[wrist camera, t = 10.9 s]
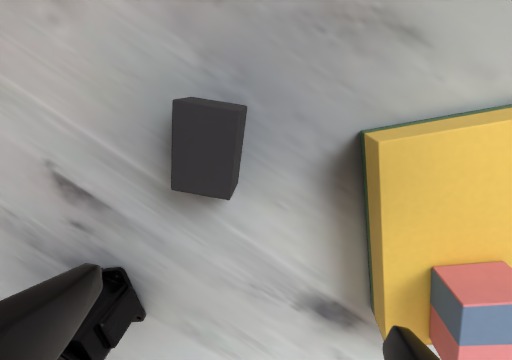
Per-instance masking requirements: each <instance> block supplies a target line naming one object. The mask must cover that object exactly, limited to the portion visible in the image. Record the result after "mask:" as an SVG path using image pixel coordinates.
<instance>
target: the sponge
mask: <svg viewBox="0 0 512 360" xmlns="http://www.w3.org/2000/svg"><path fill="white" fill-rule="evenodd" d="M361 146H362V162H363V178H364V194H365V210H366V226H367V242H368V258H369V274H370V290H371V306H372V311H373V314H374V316H375V319H376V321H377V324H378V327H379V329H380V332H381V334H382V337H383V340H384V341H385V339H386V337H387V335H388V333H389V331H390V329H391V327H392V326H394V325H397V326H402V327H406V328H409V329H410V330H411V331H412V332H413V333H414V334H415V335H416V336H417V337H418V338H419V339H420V340H421V341H422V342H423V343H424V344H425V345H433V344H432V342H431V340H430V315H431V303H430V293H431V269H432V268H433V267H438V266H450V265H462V264H474V263H486V262H498V261H504V262H505V263H507V264H508V265H509V266H510V267H511V268H512V104H510V105H504V106H499V107H493V108H488V109H482V110H476V111H471V112H465V113H459V114H454V115H448V116H442V117H437V118H431V119H426V120H420V121H414V122H409V123H403V124H397V125H392V126H386V127H380V128H375V129H369V130H364V131H361Z"/></svg>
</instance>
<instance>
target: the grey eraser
mask: <svg viewBox="0 0 512 360" xmlns="http://www.w3.org/2000/svg"><path fill="white" fill-rule="evenodd" d="M246 113H247V106H244V105H238V104H232V103H226V102H219V101H213V100H207V99H201V98H194V97H188V98H181V99H174V100H173V109H172V173H171V189H172V190H176V191H181V192H187V193H192V194H198V195H204V196H209V197H215V198H220V199H226V200H230V198H231V196H232V194H233V192H234V190H235V188H236V186H237V183H238V177H239V169H240V161H241V153H242V145H243V137H244V129H245V121H246Z"/></svg>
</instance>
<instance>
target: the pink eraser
mask: <svg viewBox="0 0 512 360" xmlns="http://www.w3.org/2000/svg"><path fill="white" fill-rule="evenodd" d="M430 303H431V315H430V340H431V342H432V344H433V345H434V347H435V349H436V351H437V352H438V354H439V356H440V358H441V360H512V268H511V267H510V266H509V265H508V264H507V263H505V262H504V261H498V262H486V263H474V264H462V265H450V266H438V267H433V268H432V269H431V293H430Z"/></svg>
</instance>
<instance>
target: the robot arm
mask: <svg viewBox="0 0 512 360" xmlns="http://www.w3.org/2000/svg"><path fill="white" fill-rule="evenodd" d="M145 317H146V314H145V312H144V310H143V308H142V306H141V304H140V301H139V299H138V297H137V295H136V293H135V291H134V289H133V287H132V285H131V283H130V280H129V278H128V276H127V274H126V272H125V270H124V269H123V268H121V267H115V268H105V269H101V268H100V266H99V265H95V264H90V263H85V264H82V265H80V266H78V267H76V268H73V269H71V270H69V271H67V272H64V273H62V274H60V275H58V276H55V277H53V278H51V279H49V280H46V281H44V282H42V283H40V284H37V285H35V286H33V287H31V288H28V289H26V290H24V291H22V292H19V293H17V294H15V295H13V296H10V297H8V298H6V299H4V300H1V301H0V360H104V359H105V358H106V356H107V355H108V353H109V352H110V350H111V349H112V348H115V347H116V346H117V344H118V342H119V341H120V339H121V338H122V336H123V335H124V333H125V332H126V330H127V328H128V327H129V325H130V324H131V322H141V321H143V320H144V318H145ZM383 355H384V360H440V359H439V358H438V357H437V356H436V355H435V354H434V353H433V352H432V351H431V350H430V349H429V348H428V347H427V346H426V345H425V344H424V343H423V342H422V341H421V340H420V339H419V338H418V337H417V336H416V335H415V334H414V333H413V332H412V331H411V330H410V329H409V328H406V327H402V326H397V325H394V326H392V327H391V329H390V331H389V333H388V335H387V337H386V339H385V341H384V343H383Z"/></svg>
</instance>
